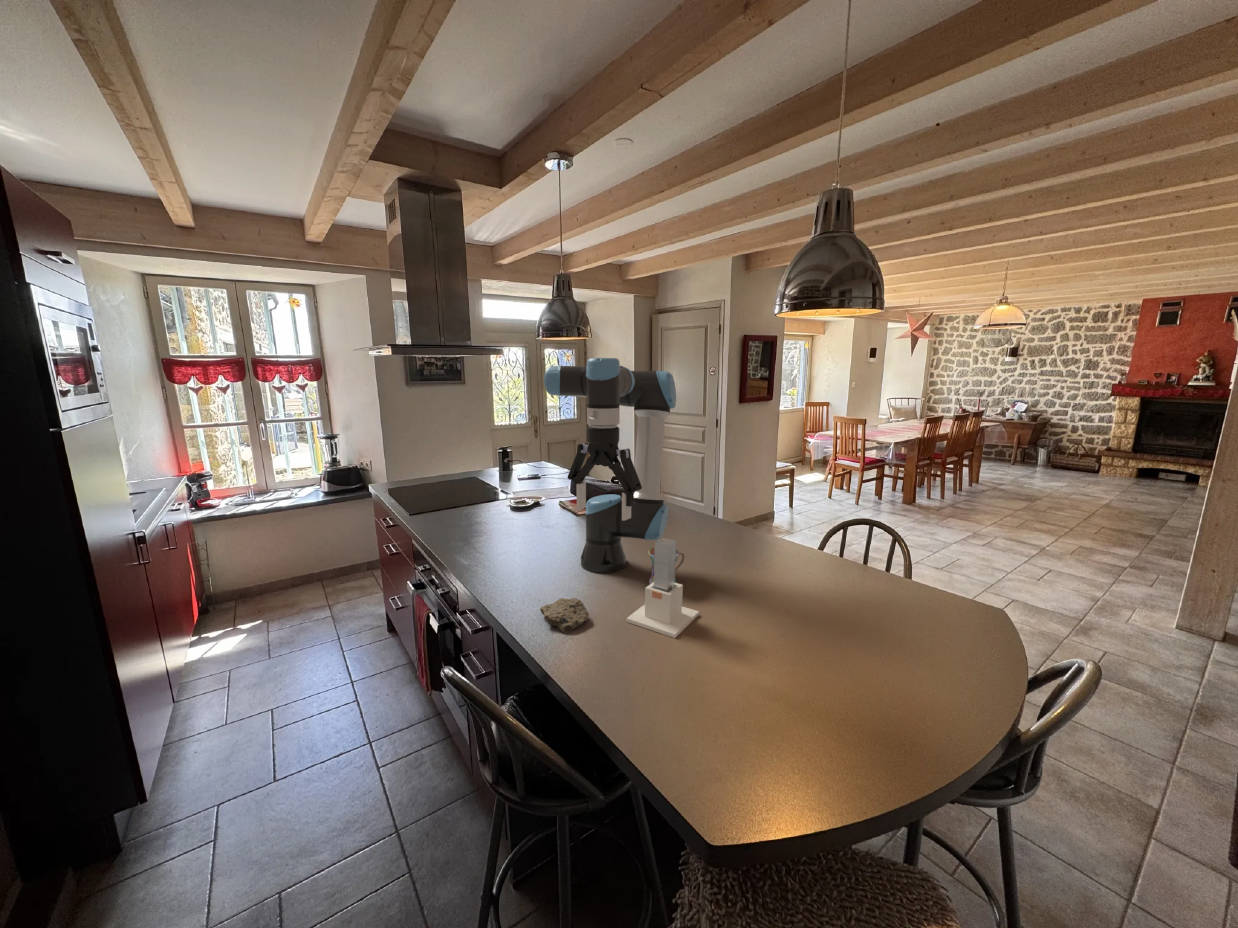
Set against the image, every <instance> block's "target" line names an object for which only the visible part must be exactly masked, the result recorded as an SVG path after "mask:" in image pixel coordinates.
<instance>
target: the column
mask: <svg viewBox="0 0 1238 928" xmlns="http://www.w3.org/2000/svg"><path fill="white" fill-rule="evenodd" d="M654 548H655V554H654V589H657V590H661V591H664V592H668V593H669V592H670V591H671V590H672V589H674V587H675V579H676V571H675V568H676V564H675V558H676V550H677V540H675V539H670V538H666V537H665V538H664V537H661V538H660V539H658V540H655V541H654Z"/></svg>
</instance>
